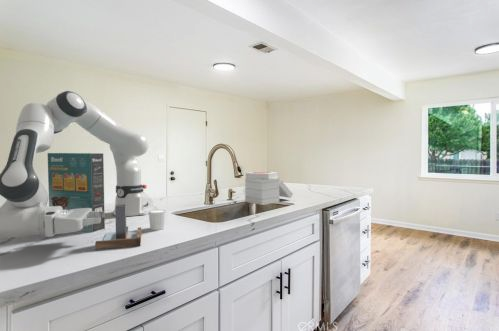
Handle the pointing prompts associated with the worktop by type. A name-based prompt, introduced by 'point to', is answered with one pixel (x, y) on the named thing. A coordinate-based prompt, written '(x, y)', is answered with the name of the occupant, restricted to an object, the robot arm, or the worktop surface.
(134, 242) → the corner walls
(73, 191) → the cake mix box
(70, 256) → the worktop surface
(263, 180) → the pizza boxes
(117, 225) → the bracket
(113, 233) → the mat
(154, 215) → the white cylinder
